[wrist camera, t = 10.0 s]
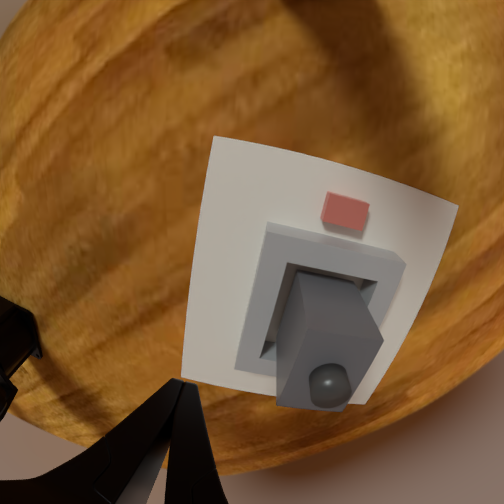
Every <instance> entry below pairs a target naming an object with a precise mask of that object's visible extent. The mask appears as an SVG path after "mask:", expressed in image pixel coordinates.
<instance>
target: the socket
mask: <svg viewBox="0 0 504 504" xmlns="http://www.w3.org/2000/svg"><path fill="white" fill-rule="evenodd" d="M457 210H458V205H456V204H454V203H451V202H449V201H446V200H444V199H442V198H439V197H437V196H434V195H432V194H429V193H426V192H424V191H421V190H418V189H416V188H413V187H410V186H408V185H405V184H402V183H399V182H396V181H393V180H391V179H388V178H385V177H382V176H379V175H375V174H372V173H369V172H366V171H363V170H360V169H356V168H353V167H350V166H346V165H343V164H339V163H336V162H332V161H328V160H325V159H321V158H317V157H313V156H309V155H305V154H301V153H297V152H293V151H289V150H285V149H280V148H276V147H271V146H266V145H262V144H257V143H252V142H247V141H241V140H236V139H230V138H224V137H218V136H214V137H213V143H212V148H211V153H210V158H209V164H208V169H207V175H206V180H205V186H204V192H203V198H202V204H201V210H200V217H199V223H198V230H197V236H196V243H195V250H194V258H193V265H192V273H191V281H190V289H189V298H188V307H187V316H186V326H185V336H184V347H183V358H182V371H181V377H183V378H187V379H191V380H195V381H199V382H204V383H208V384H212V385H217V386H222V387H226V388H231V389H236V390H242V391H247V392H253V393H259V394H265V395H271V396H276V336H277V332H278V329H279V326H280V323H281V320H282V317H283V314H284V310H285V307H286V304H287V301H288V297H289V294H290V291H291V287H292V284H293V281H294V277H295V274H296V271H297V269H300V270H304V271H309V272H314V273H318V274H323V275H328V276H332V277H337V278H342V279H347V280H351V281H354V283H355V285H356V287H357V289H358V291H359V292H360V294H361V296H362V298H363V300H364V302H365V304H366V306H367V307H368V309H369V311H370V313H371V315H372V317H373V319H374V321H375V323H376V325H377V327H378V329H379V331H380V333H381V335H382V337H383V339H384V342H383V344H382V346H381V348H380V349H379V351H378V353H377V355H376V357H375V359H374V360H373V362H372V364H371V366H370V367H369V369H368V371H367V373H366V374H365V376H364V378H363V379H362V381H361V383H360V384H359V386H358V388H357V389H356V391H355V392H354V394H353V396H352V397H351V399H350V400H349V402H348V404H365V403H366V402H367V400H368V399H369V397H370V396H371V394H372V393H373V391H374V390H375V388H376V387H377V385H378V384H379V382H380V380H381V379H382V377H383V376H384V374H385V372H386V371H387V369H388V367H389V366H390V364H391V362H392V361H393V359H394V357H395V355H396V354H397V352H398V350H399V348H400V346H401V345H402V343H403V341H404V339H405V337H406V335H407V333H408V331H409V330H410V328H411V326H412V324H413V322H414V320H415V318H416V316H417V313H418V311H419V309H420V307H421V305H422V303H423V301H424V299H425V296H426V294H427V292H428V290H429V287H430V285H431V283H432V280H433V278H434V275H435V273H436V270H437V268H438V265H439V263H440V260H441V258H442V255H443V252H444V250H445V247H446V244H447V241H448V238H449V235H450V232H451V229H452V226H453V223H454V220H455V217H456V213H457Z"/></svg>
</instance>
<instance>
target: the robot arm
mask: <svg viewBox="0 0 504 504" xmlns="http://www.w3.org/2000/svg"><path fill="white" fill-rule="evenodd" d="M30 355H32V356H34V357H36V358H38V359H41V358H42V357H43V355H42V352H41V348H40V345H39V341H38V338H37V334H36V330H35V326H34V322H33V318H32V314H31V313H30V311H28V310H26V309H24V308H22V307H20V306H18V305H16V304H14V303H12V302H10V301H8V300H7V299H5V298H3V297H1V296H0V421H1V420H2V419H3V418H4V416H5V414H6V412H7V410H8V408H9V406H10V404H11V403H12V401H13V399H14V397H15V395H16V393H17V391H18V389H17V388H16V386H14V385H13V384H12V382H11V381H10V380H9V379H10V377H11V376H12V375H13V374H14V373H15V372H16V371H17V369H18V368H19V367H20V366H21V365H22V364H23V363H24V362H25V360H26V359H27V358H28V357H29V356H30ZM169 446H170V449H169V459H168V468H167V479H166V491H165V503H164V504H228V501H227V499H226V497H225V494H224V492H223V489H222V486H221V482H220V479H219V476H218V472H217V469H216V465H215V461H214V457H213V453H212V449H211V445H210V441H209V437H208V433H207V428H206V424H205V419H204V415H203V410H202V406H201V401H200V396H199V391H198V386H197V384H195V383H191V382H184V381H183V380H179V379H175V378H172V379H170V380H169V381H168V382H167V383H166V384H164V385H163V386H162V387H161V388H160V389H159V390H158V391H156V392H155V393H154V394H153V395H152V396H151V397H150V398H148V399H147V400H146V401H145V402H144V403H143V404H141V405H140V406H139V407H138V408H137V409H136V410H134V411H133V412H132V413H131V414H130V415H129V416H127V417H126V418H125V419H124V420H123V421H121V422H120V423H119V424H118V425H117V426H115V427H114V428H113V429H112V430H111V431H109V432H108V433H107V434H106V435H105V437H102V438H101V439H100V440H98V441H97V442H96V443H95V444H93V445H92V446H91V447H89V448H88V449H87V450H85V451H84V452H82V453H81V454H79V455H77V456H76V457H74V458H72V459H71V460H69V461H67V462H65V463H64V464H62V465H60V466H58V467H56V468H55V469H53V470H51V471H49V472H47V473H45V474H43V475H41V476H38V477H36V478H31V479H24V480H0V504H146V502H147V500H148V498H149V495H150V493H151V490H152V488H153V485H154V483H155V480H156V478H157V475H158V473H159V470H160V468H161V466H162V463H163V461H164V458H165V456H166V453H167V451H168V448H169Z"/></svg>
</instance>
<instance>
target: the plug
mask: <svg viewBox="0 0 504 504" xmlns="http://www.w3.org/2000/svg"><path fill="white" fill-rule="evenodd" d="M383 342H384V339H383V337H382V335H381V333H380V331H379V329H378V327H377V325H376V323H375V321H374V319H373V317H372V315H371V313H370V311H369V309H368V307H367V306H366V304H365V302H364V300H363V298H362V296H361V294H360V292H359V291H358V289H357V287H356V285H355V283H354V281H351V280H347V279H342V278H337V277H332V276H328V275H323V274H318V273H314V272H309V271H304V270H300V269H297V271H296V274H295V277H294V281H293V284H292V287H291V291H290V294H289V297H288V301H287V304H286V307H285V310H284V314H283V317H282V320H281V323H280V326H279V329H278V332H277V336H276V406H284V407H292V408H300V409H310V410H321V411H334V412H342V411H343V410H344V408H345V407H346V405H347V403H348V402H349V400H350V399H351V397H352V396H353V394H354V392H355V391H356V389H357V388H358V386H359V384H360V383H361V381H362V379H363V378H364V376H365V374H366V373H367V371H368V369H369V367H370V366H371V364H372V362H373V360H374V359H375V357H376V355H377V353H378V351H379V349H380V348H381V346H382V344H383Z"/></svg>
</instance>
